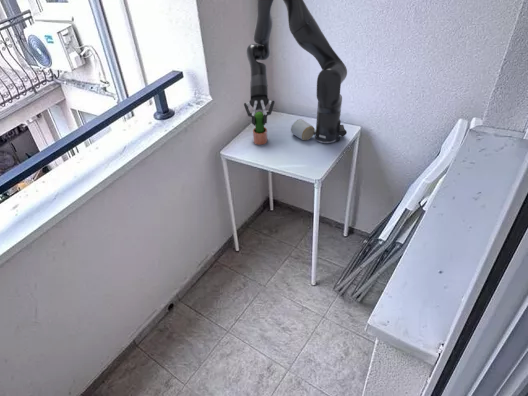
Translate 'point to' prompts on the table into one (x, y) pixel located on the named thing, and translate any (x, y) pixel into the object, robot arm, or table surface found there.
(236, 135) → the table surface
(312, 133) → the ceramic mug
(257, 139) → the cup
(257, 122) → the cucumber
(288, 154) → the table surface
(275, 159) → the table surface
